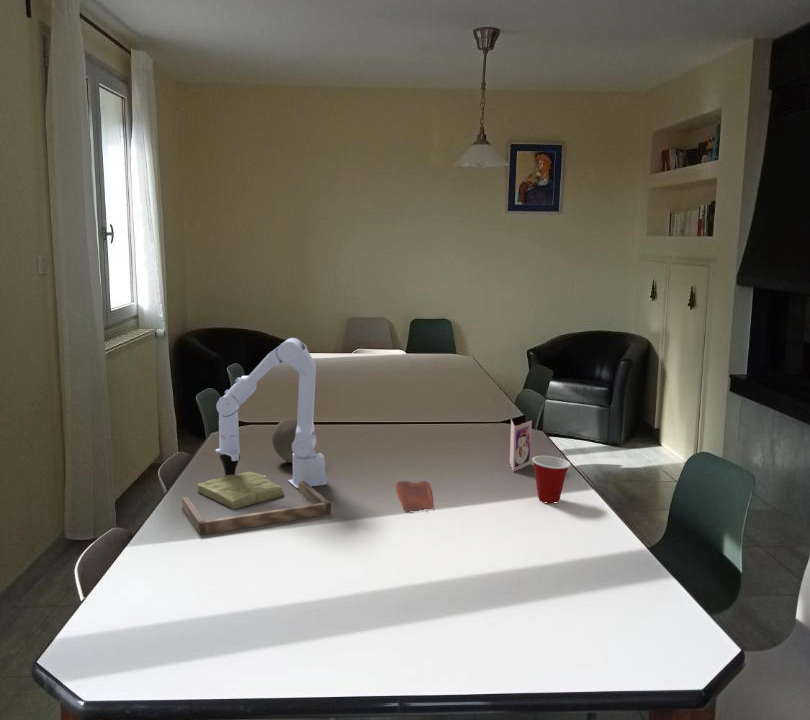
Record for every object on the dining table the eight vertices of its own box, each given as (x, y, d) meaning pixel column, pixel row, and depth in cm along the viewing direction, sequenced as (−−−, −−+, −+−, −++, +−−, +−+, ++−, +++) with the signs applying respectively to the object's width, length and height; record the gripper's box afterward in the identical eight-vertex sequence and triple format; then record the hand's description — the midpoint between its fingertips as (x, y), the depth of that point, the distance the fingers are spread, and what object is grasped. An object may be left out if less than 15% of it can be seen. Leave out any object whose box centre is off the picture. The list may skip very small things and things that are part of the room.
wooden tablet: (395, 484, 238) (395, 479, 237) (428, 484, 238) (428, 479, 238) (399, 515, 211) (399, 509, 211) (436, 514, 212) (436, 509, 212)
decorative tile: (232, 510, 213) (232, 498, 212) (196, 492, 227) (196, 480, 227) (289, 495, 225) (288, 484, 225) (251, 479, 240) (251, 468, 239)
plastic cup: (569, 508, 216) (571, 466, 215) (529, 505, 219) (531, 464, 217) (569, 496, 227) (570, 456, 225) (531, 493, 229) (532, 453, 227)
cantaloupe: (319, 458, 263) (318, 414, 260) (310, 470, 249) (309, 424, 247) (278, 456, 264) (277, 413, 262) (266, 468, 250) (266, 423, 248)
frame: (303, 490, 229) (303, 480, 228) (330, 513, 210) (330, 503, 210) (182, 508, 213) (182, 497, 213) (200, 535, 194) (199, 523, 194)
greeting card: (515, 472, 249) (517, 427, 246) (495, 468, 253) (496, 423, 251) (532, 464, 258) (534, 420, 255) (512, 460, 262) (514, 417, 260)
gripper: (209, 430, 238) (211, 473, 240) (221, 441, 225) (222, 486, 227) (232, 427, 241) (233, 470, 243) (245, 438, 228) (246, 483, 231)
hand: (230, 477), depth 236 cm, fingers closed
